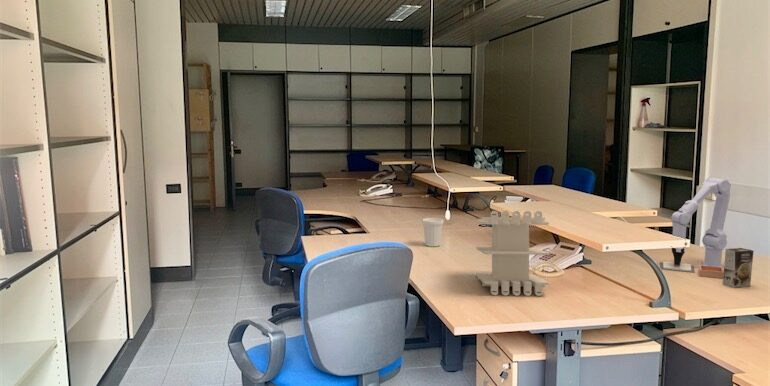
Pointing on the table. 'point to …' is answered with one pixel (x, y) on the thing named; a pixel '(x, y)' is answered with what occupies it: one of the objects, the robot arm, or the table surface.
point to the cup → (432, 231)
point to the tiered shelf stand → (512, 253)
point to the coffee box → (738, 267)
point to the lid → (676, 266)
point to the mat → (677, 270)
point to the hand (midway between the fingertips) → (677, 263)
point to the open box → (710, 271)
